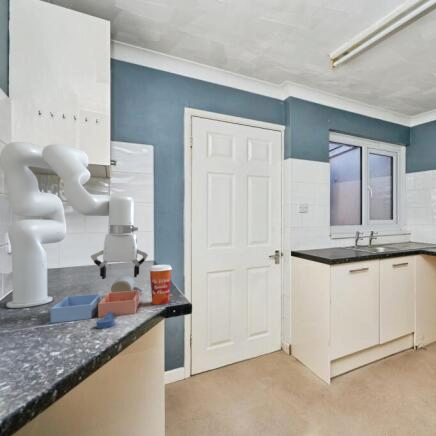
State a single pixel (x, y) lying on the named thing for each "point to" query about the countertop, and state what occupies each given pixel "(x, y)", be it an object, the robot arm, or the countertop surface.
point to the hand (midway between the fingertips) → (120, 277)
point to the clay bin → (119, 303)
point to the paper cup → (160, 283)
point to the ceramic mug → (124, 285)
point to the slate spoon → (105, 321)
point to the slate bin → (75, 308)
